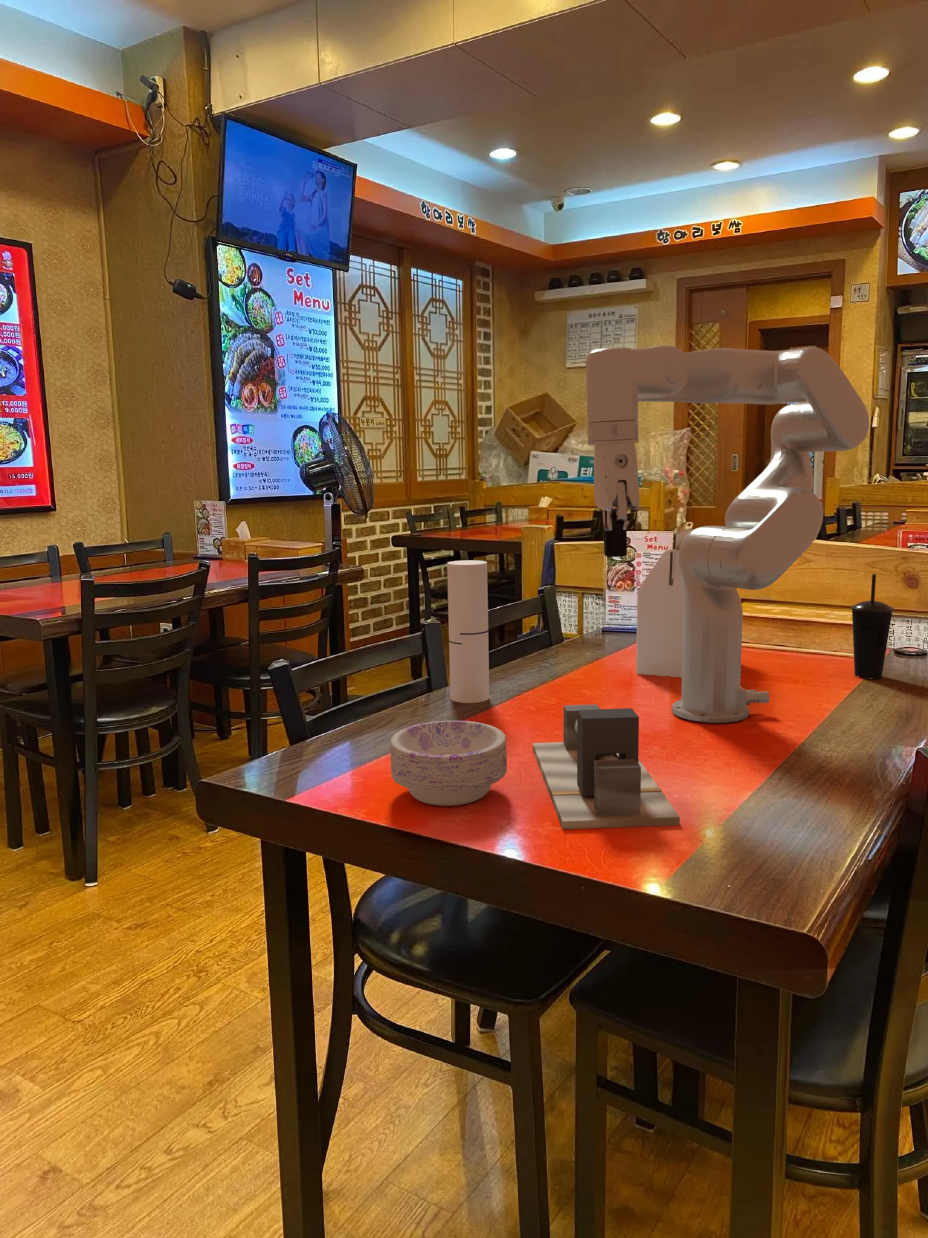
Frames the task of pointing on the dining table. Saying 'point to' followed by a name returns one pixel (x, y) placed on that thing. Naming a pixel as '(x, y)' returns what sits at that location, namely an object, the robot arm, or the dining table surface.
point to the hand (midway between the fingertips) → (615, 555)
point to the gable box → (661, 616)
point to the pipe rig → (600, 786)
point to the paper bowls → (448, 760)
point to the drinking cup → (870, 635)
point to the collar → (604, 740)
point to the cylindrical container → (468, 631)
